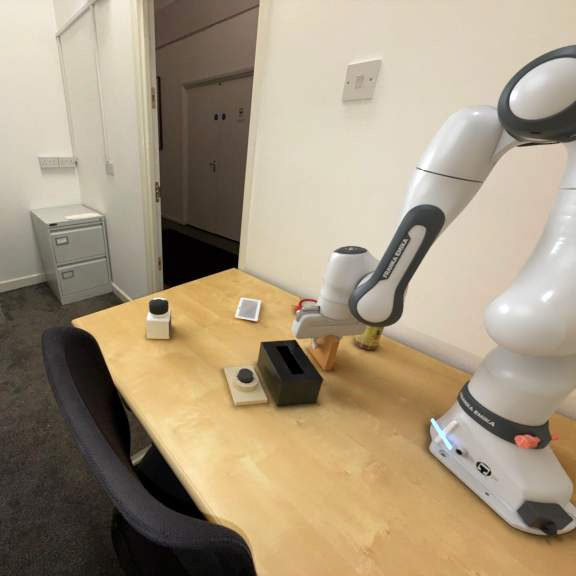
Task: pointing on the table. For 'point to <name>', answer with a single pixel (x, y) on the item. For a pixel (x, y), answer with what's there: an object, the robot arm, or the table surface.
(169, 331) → the medicine bottle
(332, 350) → the toast
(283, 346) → the toaster
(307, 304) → the alarm clock
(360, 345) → the sauce bottle
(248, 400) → the control block
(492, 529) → the table surface
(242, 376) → the button
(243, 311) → the touchpad
